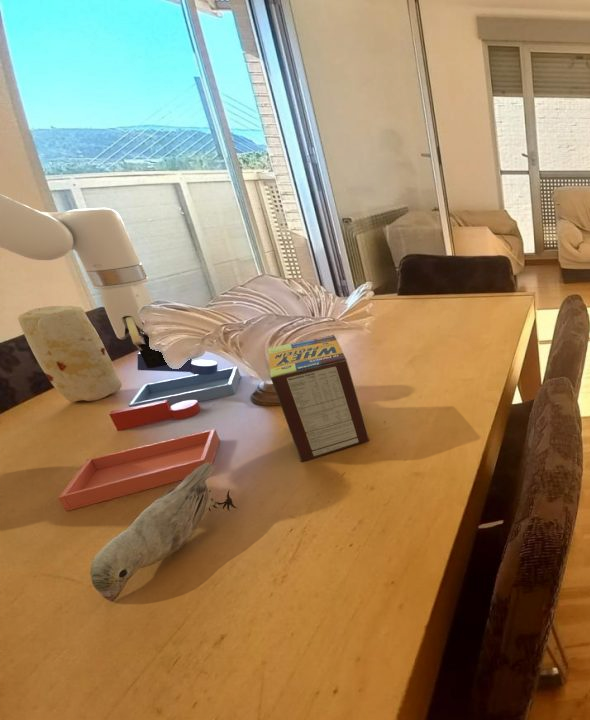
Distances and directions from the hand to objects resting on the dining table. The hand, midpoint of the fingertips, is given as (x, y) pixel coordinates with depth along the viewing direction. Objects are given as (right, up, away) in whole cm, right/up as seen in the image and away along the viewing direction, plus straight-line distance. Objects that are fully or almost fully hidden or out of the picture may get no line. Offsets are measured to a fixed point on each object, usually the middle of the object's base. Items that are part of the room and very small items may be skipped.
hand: (159, 364), depth 97 cm
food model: (-18, -7, +5) cm, 20 cm away
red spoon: (+6, -11, -6) cm, 14 cm away
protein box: (+43, -12, -12) cm, 46 cm away
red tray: (+20, -17, -22) cm, 34 cm away
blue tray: (+3, -6, +4) cm, 8 cm away
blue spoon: (+2, -1, +2) cm, 3 cm away
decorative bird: (+39, -23, -37) cm, 58 cm away
